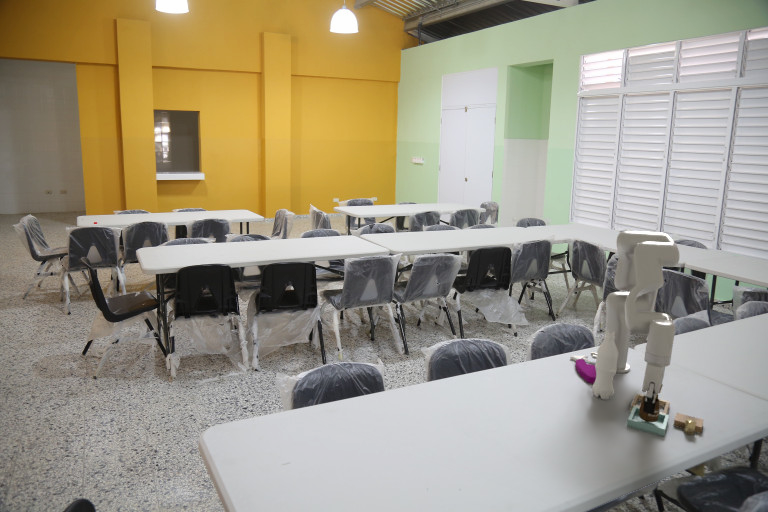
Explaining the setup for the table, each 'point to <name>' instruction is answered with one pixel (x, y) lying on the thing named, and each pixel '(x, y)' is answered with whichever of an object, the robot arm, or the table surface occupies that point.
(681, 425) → the board
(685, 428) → the cylinder
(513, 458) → the table surface
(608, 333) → the water bottle
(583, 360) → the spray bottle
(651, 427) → the tray
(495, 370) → the table surface
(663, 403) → the wooden square frame
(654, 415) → the utensil holder
